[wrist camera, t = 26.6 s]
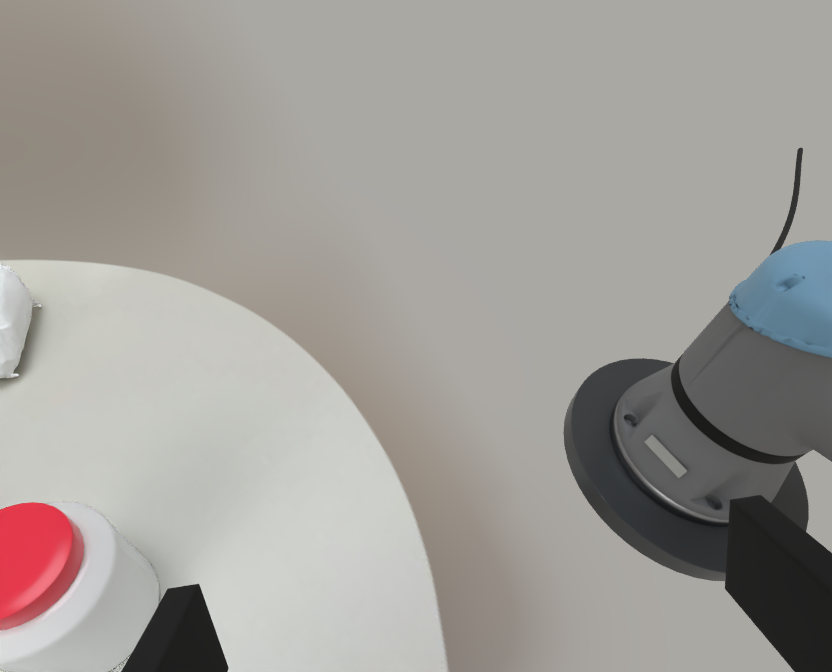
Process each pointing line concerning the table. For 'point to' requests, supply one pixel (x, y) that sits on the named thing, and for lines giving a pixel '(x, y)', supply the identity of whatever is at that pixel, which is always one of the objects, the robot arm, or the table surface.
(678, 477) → the robot arm
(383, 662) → the table surface
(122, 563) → the pill bottle
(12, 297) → the bird figurine
